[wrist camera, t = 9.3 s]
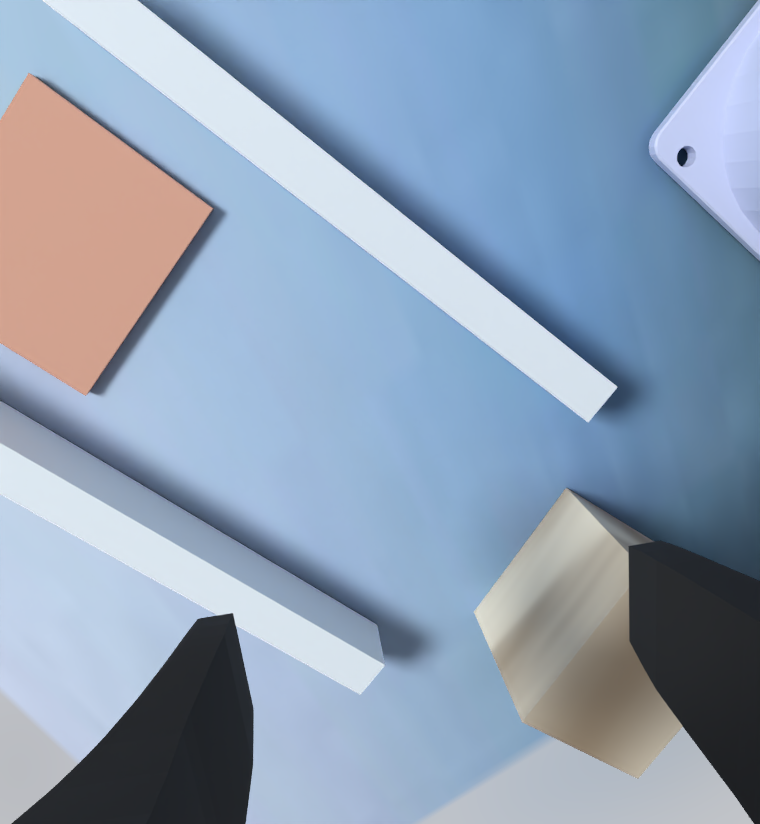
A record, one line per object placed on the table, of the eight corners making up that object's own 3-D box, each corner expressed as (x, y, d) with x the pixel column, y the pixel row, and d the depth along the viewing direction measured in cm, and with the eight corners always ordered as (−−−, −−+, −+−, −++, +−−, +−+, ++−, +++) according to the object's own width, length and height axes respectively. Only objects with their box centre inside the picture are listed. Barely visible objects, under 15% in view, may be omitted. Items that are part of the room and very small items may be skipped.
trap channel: (587, 369, 20) (617, 387, 18) (354, 652, 22) (360, 694, 20) (94, -26, 16) (67, -57, 14) (-143, 366, 18) (-195, 386, 16)
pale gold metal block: (659, 544, 22) (757, 637, 18) (567, 661, 23) (638, 778, 19) (565, 487, 21) (643, 568, 17) (473, 610, 22) (521, 722, 18)
